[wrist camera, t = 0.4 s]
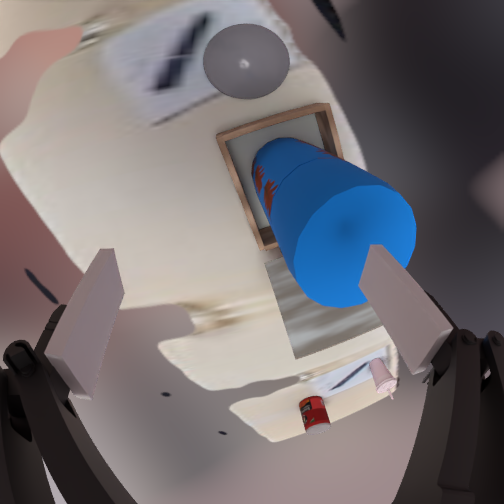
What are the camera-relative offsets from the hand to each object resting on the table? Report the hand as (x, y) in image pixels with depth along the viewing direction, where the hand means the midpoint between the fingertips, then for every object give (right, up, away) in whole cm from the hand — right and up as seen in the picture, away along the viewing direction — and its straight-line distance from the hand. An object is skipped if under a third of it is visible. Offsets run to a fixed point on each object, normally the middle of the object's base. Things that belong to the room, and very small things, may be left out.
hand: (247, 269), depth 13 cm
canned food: (+19, -47, +64) cm, 81 cm away
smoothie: (+36, -31, +57) cm, 75 cm away
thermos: (+5, +13, +27) cm, 31 cm away
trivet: (-1, +28, +18) cm, 33 cm away
